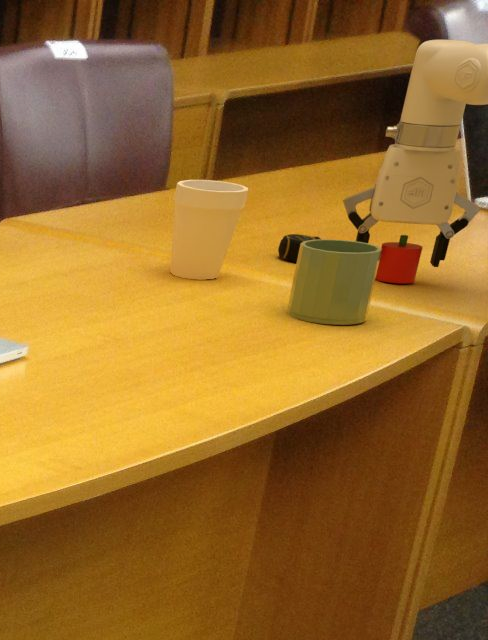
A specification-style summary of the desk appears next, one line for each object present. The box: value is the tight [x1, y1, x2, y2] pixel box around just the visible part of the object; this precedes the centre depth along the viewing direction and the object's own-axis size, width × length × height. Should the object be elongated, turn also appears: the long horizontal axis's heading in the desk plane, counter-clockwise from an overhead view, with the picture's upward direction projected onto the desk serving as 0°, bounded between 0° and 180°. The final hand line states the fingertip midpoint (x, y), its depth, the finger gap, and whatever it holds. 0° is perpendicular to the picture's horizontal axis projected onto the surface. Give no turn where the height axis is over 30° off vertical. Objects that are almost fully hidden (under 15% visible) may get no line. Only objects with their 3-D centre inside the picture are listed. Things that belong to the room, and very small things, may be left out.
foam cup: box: [169, 179, 249, 280], centre depth 217 cm, size 10×9×13 cm
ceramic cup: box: [286, 238, 382, 326], centre depth 197 cm, size 9×9×9 cm
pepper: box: [375, 234, 423, 284], centre depth 218 cm, size 5×5×6 cm
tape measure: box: [277, 233, 322, 263], centre depth 229 cm, size 7×7×4 cm
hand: (396, 262), depth 218 cm, fingers open, 9 cm apart
